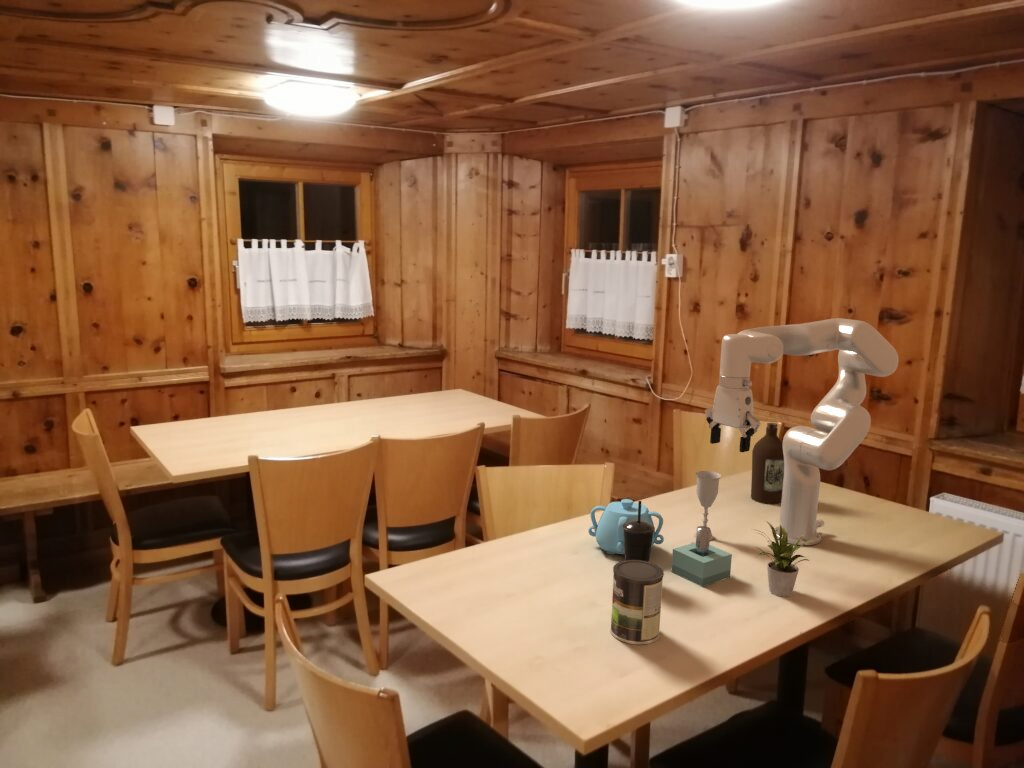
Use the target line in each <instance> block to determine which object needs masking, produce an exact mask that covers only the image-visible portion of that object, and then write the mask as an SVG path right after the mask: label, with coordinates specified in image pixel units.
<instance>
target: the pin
mask: <svg viewBox="0 0 1024 768" xmlns="http://www.w3.org/2000/svg"><path fill="white" fill-rule="evenodd" d="M710 530H711V528H710V527H708V526H707V527H706V526H703V525H699V526H697V527H696V533H697V534H696V533H695V535H696V537H695V542H696V550H695V554H697V555H700V556H702V557H704V556H707V555H709V545H710V542H711V540H710Z"/></svg>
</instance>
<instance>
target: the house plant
mask: <svg viewBox="0 0 1024 768" xmlns="http://www.w3.org/2000/svg"><path fill="white" fill-rule="evenodd" d="M765 522H766V523H767V524H768V526H769V527H770V529H771V533H772V536H773V539H774V541H772V540H771V539H770V538H768V537H767V536H766V535H765V534H764V532H762V531H761V530H758V529H755V531H757V534H758V535H759V534H760V535H761V536H763V537H764V538H766V537H767V538H768V539H769V540H768V539H767V538H766V541H767V543H768V544H767V547H768V548H769V549H770V550H771V551H772V553H773V554H772V553H770V552H767V551H763V550H762V548H760V547H756V546H754V549H755V548H756V549H759V550H760V551H761V552H759V553H758V554H757V556H756V557H760V556H762V555H763V556H764V555H770V556H772V557H773V560H770V561H769V562H767V564H766V568H767V569H766V571H767V579H768V590H769V593H771V594H772V595H774V596H778V597H790V596H792V594H793V592H794V588H795V585H796V581H797V577H798V573H799V567H798V566H797V565H796V564H798V563H800V562H803V561H808V562H810V560H809V559H807V557H806V556H804V555H803V554H796V552H797V551H798V550H799V549H800V548H801V549H802V547H804V546H806V545H805V544H806V543H808V542H811V541H815V540H810V541H807V542H806V543H804V544H802V545H798V543H799V542H800V541H801V539H802V537H803V536H804V535H803V536H802V537H801V538H800V539H799V540H798V542H797V543H796V544H790V543H788V537H787V535H788V533H786V531H785V529H784V528H782V526H781V524H780V523H779V525H780V532H779V539H777V535H776V532H775V529H774V526H773V525H772V524H771V523H770V522H769V521H766V520H765ZM751 530H753V529H751ZM789 531H790V530H789ZM759 532H760V533H759ZM764 535H765V536H764ZM782 536H783V538H782ZM794 554H795V555H794ZM798 558H802V559H800V560H798V561H796V560H797V559H798ZM794 561H796V562H795V563H793V562H794Z"/></svg>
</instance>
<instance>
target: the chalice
mask: <svg viewBox="0 0 1024 768" xmlns="http://www.w3.org/2000/svg"><path fill="white" fill-rule="evenodd" d="M695 475H696V489H695V490H696V495H697V499H698V501H699V503H700V505H701V507H703V512H702V515H703V518H702V519H701V520H702V526H706V527H708V525H707V524H708V522H709V519H708V516H709V513H708V512H709V510H708V509H709V508H711V507H712V505H713V504H714V502H715V500H716V498H717V496H718V494H719V482H720V479H721V477H722V474H720V473H718V472H715V471H712V470H711V471H710V470H700V471H697V472H695ZM696 534H697V532H695V534H694V538H696ZM711 540H714V536H713V533H712V529H710V541H711Z"/></svg>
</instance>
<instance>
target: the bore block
mask: <svg viewBox="0 0 1024 768" xmlns="http://www.w3.org/2000/svg"><path fill="white" fill-rule="evenodd" d="M695 550H696V541H695V542H693V543H689V544H684V545H682V546H678V547H674V548H672V554H671V556H672V557H671V573H674V574H675V575H677V576H680V577H681V578H683V579H685V580H688V581H690V582H692V583H693V584H696V585H698V586H700V587H706V586H708V585H712V584H714V583H717V582H720V581H723V580H726V579H729V578H731V571H732V557H733V556H732V553H730V552H727V551H725V550H723V549H720V548H718V547H716V546H714V545H712V544H709V555H707V556H704V557H702V556H700V555H697V554H695Z"/></svg>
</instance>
